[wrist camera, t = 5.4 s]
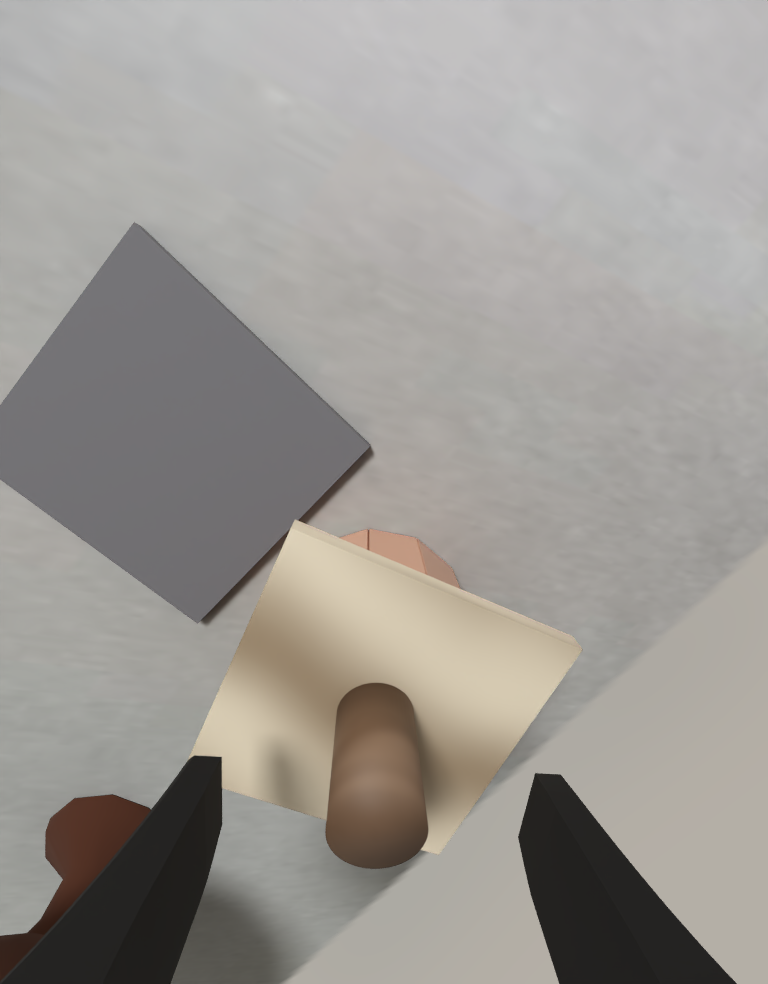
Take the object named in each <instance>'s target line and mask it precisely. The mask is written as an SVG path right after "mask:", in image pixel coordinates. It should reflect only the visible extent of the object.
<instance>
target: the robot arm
mask: <svg viewBox="0 0 768 984" xmlns="http://www.w3.org/2000/svg"><path fill="white" fill-rule="evenodd" d="M221 827H222V757H216V756H197V755H194V756H193V757H191V758H190V759H189V760H188V761H187V763H186V764H185V766H184V767H183V768H182V770H181V771H180V772H179V774H178V775H177V777H176V778H175V779H174V781H173V782H172V783H171V785H170V786H169V787H168V789H167V790H166V791H165V793H164V794H163V795H162V797H161V798H160V799H159V801H158V802H157V803H156V804H155V806H154V807H153V808H152V810H151V811H150V812H149V813H148V815H147V816H146V817H145V819H144V820H143V821H142V822H141V824H140V825H139V826H138V827H137V828H136V830H135V831H134V832H133V833H132V835H131V836H130V837H129V838H128V839H127V841H126V842H125V843H124V844H123V846H122V847H121V848H120V849H119V850H118V852H117V853H116V854H115V855H114V857H113V858H112V859H111V860H110V861H109V863H108V864H107V865H106V866H105V867H104V868H103V870H102V871H101V872H100V873H99V874H98V875H97V877H96V878H95V879H94V880H93V881H92V882H91V883H90V884H89V886H88V887H87V888H86V889H85V890H84V891H83V892H82V894H81V895H80V896H79V897H78V898H77V899H76V900H75V902H74V903H73V904H72V905H71V906H70V907H69V908H68V909H67V911H66V912H65V913H64V914H63V915H62V916H61V917H60V919H59V920H58V921H57V922H56V923H55V924H54V925H53V926H52V927H51V928H50V929H49V930H48V932H47V933H46V934H45V935H44V936H43V937H42V938H41V939H40V940H39V941H38V942H37V943H36V945H35V946H34V947H33V948H32V949H31V950H30V951H29V952H28V953H27V954H26V955H25V956H24V957H23V958H22V959H21V960H20V961H19V962H18V963H17V965H16V966H15V967H14V968H13V969H12V970H11V971H10V972H9V973H8V974H7V975H6V976H5V977H4V978H3V979H2V980H1V981H0V984H170V983H171V980H172V978H173V975H174V972H175V969H176V967H177V964H178V961H179V958H180V955H181V953H182V950H183V947H184V944H185V942H186V939H187V936H188V933H189V930H190V928H191V925H192V922H193V919H194V916H195V914H196V911H197V908H198V905H199V902H200V900H201V897H202V894H203V891H204V888H205V885H206V882H207V879H208V875H209V872H210V868H211V864H212V861H213V857H214V853H215V849H216V846H217V842H218V838H219V834H220V830H221ZM518 838H519V843H520V848H521V852H522V857H523V862H524V867H525V871H526V875H527V880H528V884H529V888H530V892H531V896H532V899H533V902H534V906H535V909H536V912H537V915H538V919H539V922H540V925H541V928H542V931H543V934H544V937H545V940H546V944H547V947H548V950H549V953H550V956H551V959H552V962H553V965H554V968H555V971H556V975H557V977H558V981H559V984H736V982H735V981H734V980H733V979H732V978H731V977H730V976H729V975H728V974H727V973H726V972H725V971H724V970H723V969H722V968H721V967H720V965H719V964H718V963H717V962H716V961H715V960H714V959H713V958H712V957H711V956H710V955H709V954H708V952H707V951H706V950H705V949H704V948H703V947H702V946H701V945H700V944H699V943H698V941H697V940H696V939H695V938H694V937H693V936H692V934H691V933H690V932H689V931H688V930H687V929H686V928H685V927H684V925H682V923H681V922H680V921H679V920H678V919H677V918H676V916H675V915H674V914H673V913H672V912H671V911H670V909H668V907H667V906H666V905H665V904H664V902H663V901H662V900H661V899H660V898H659V897H658V895H657V894H656V893H655V892H654V891H653V889H652V888H651V887H650V886H649V885H648V883H647V882H646V881H645V880H644V879H643V878H642V876H641V875H640V874H639V872H638V871H637V870H636V869H635V868H634V866H633V865H632V864H631V863H630V862H629V860H628V859H627V858H626V857H625V855H624V854H623V853H622V852H621V850H620V849H619V848H618V847H617V846H616V845H615V843H614V842H613V841H612V839H611V838H610V837H609V835H608V834H607V833H606V832H605V831H604V829H603V828H602V827H601V825H600V824H599V823H598V822H597V820H596V819H595V818H594V817H593V815H592V814H591V813H590V811H589V810H588V809H587V808H586V806H585V805H584V804H583V802H582V801H581V800H580V799H579V797H578V796H577V795H576V793H575V792H574V791H573V790H572V788H571V787H570V786H569V785H568V783H567V782H566V781H565V780H564V778H563V777H562V776H561V775H557V774H537V773H536V774H535V777H534V780H533V784H532V787H531V791H530V795H529V799H528V803H527V806H526V810H525V814H524V817H523V821H522V825H521V829H520V833H519V836H518Z"/></svg>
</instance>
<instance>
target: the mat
mask: <svg viewBox="0 0 768 984" xmlns="http://www.w3.org/2000/svg"><path fill="white" fill-rule="evenodd" d="M369 447H370V444H369V443H368V442H367V441H366V440H365V439H364V438H363V437H362V436H361V435H360V434H359V433H358V432H357V431H355V430H354V429H353V428H352V427H351V426H350V425H349V424H348V423H347V422H346V421H345V420H344V419H343V418H342V417H341V416H340V415H339V414H338V413H337V412H336V411H334V410H333V409H332V408H331V407H330V406H329V405H328V404H327V403H326V402H325V401H324V400H323V399H322V398H321V397H320V396H319V395H318V394H317V393H316V392H315V391H313V390H312V389H311V388H310V387H309V386H308V385H307V384H306V383H305V382H304V381H303V380H302V379H301V378H300V377H299V376H298V375H297V374H296V373H295V372H294V371H292V370H291V369H290V368H289V367H288V366H287V365H286V364H285V363H284V362H283V361H282V360H281V359H280V358H279V357H278V356H277V355H276V354H275V353H274V352H272V351H271V350H270V349H269V348H268V347H267V346H266V345H265V344H264V343H263V342H262V341H261V340H260V339H259V338H258V337H257V336H256V335H255V334H254V333H253V332H251V331H250V330H249V329H248V328H247V327H246V326H245V325H244V324H243V323H242V322H241V321H240V320H239V319H238V318H237V317H236V316H235V315H234V314H233V313H232V312H230V311H229V310H228V309H227V308H226V307H225V306H224V305H223V304H222V303H221V302H220V301H219V300H218V299H217V298H216V297H215V296H214V295H213V294H212V293H211V292H209V291H208V290H207V289H206V288H205V287H204V286H203V285H202V284H201V283H200V282H199V281H198V280H197V279H196V278H195V277H194V276H193V275H192V274H191V273H189V272H188V271H187V270H186V269H185V268H184V267H183V266H182V265H181V264H180V263H179V262H178V261H177V260H176V259H175V258H174V257H173V256H172V255H171V254H170V253H168V252H167V251H166V250H165V249H164V248H163V247H162V246H161V245H160V244H159V243H158V242H157V241H156V240H155V239H154V238H153V237H152V236H151V235H150V234H149V233H147V232H146V231H145V230H144V229H143V228H142V227H141V226H140V225H138V224H136V223H135V222H134V223H133V224H132V226H131V227H130V228H129V230H128V231H127V233H126V234H125V235H124V237H123V238H122V239H121V241H120V242H119V244H118V245H117V246H116V248H115V249H114V250H113V252H112V253H111V254H110V256H109V257H108V259H107V260H106V261H105V263H104V264H103V265H102V267H101V268H100V270H99V271H98V272H97V274H96V275H95V276H94V278H93V279H92V280H91V282H90V283H89V285H88V286H87V287H86V289H85V290H84V291H83V293H82V294H81V296H80V297H79V298H78V300H77V301H76V302H75V304H74V305H73V306H72V308H71V309H70V311H69V312H68V313H67V315H66V316H65V317H64V319H63V320H62V321H61V323H60V324H59V326H58V327H57V328H56V330H55V331H54V332H53V334H52V335H51V337H50V338H49V339H48V341H47V342H46V343H45V345H44V346H43V347H42V349H41V350H40V352H39V353H38V354H37V356H36V357H35V358H34V360H33V361H32V363H31V364H30V365H29V367H28V368H27V369H26V371H25V372H24V373H23V375H22V376H21V378H20V379H19V380H18V382H17V383H16V384H15V386H14V387H13V389H12V390H11V391H10V393H9V394H8V395H7V397H6V398H5V399H4V401H3V402H2V404H1V405H0V480H2V481H3V482H5V483H6V484H7V485H9V486H10V487H11V488H13V489H14V490H16V491H17V492H18V493H20V494H21V495H22V496H24V497H25V498H26V499H28V500H29V501H31V502H32V503H33V504H35V505H36V506H37V507H39V508H40V509H42V510H43V511H44V512H46V513H47V514H48V515H50V516H51V517H52V518H54V519H55V520H57V521H58V522H59V523H61V524H62V525H63V526H65V527H66V528H68V529H69V530H70V531H72V532H73V533H74V534H76V535H77V536H78V537H80V538H81V539H83V540H84V541H85V542H87V543H88V544H89V545H91V546H92V547H94V548H95V549H96V550H98V551H99V552H100V553H102V554H103V555H104V556H106V557H107V558H109V559H110V560H111V561H113V562H114V563H115V564H117V565H118V566H120V567H121V568H122V569H124V570H125V571H126V572H128V573H129V574H130V575H132V576H133V577H135V578H136V579H137V580H139V581H140V582H141V583H143V584H144V585H146V586H147V587H148V588H150V589H151V590H152V591H154V592H155V593H157V594H158V595H159V596H161V597H162V598H163V599H165V600H166V601H167V602H169V603H170V604H172V605H173V606H174V607H176V608H177V609H178V610H180V611H181V612H183V613H184V614H185V615H187V616H188V617H189V618H191V619H192V620H193V621H195V622H196V623H199V622H200V621H201V620H202V618H203V617H204V616H205V615H206V614H207V613H208V612H209V611H210V610H211V609H212V608H213V607H214V606H215V605H216V604H217V603H218V602H219V601H220V600H221V599H222V598H223V597H224V596H225V595H226V594H227V593H228V592H229V591H230V590H231V589H232V588H233V587H234V586H235V585H236V584H237V583H238V582H239V580H240V579H241V578H242V577H243V576H244V575H245V574H246V573H247V572H248V571H249V570H250V569H251V568H252V567H253V566H254V565H255V564H256V563H257V562H258V561H259V560H260V559H261V558H262V557H263V556H264V555H265V554H266V553H267V552H268V551H269V550H270V549H271V548H272V547H273V546H274V545H275V544H276V542H277V541H278V540H279V539H280V538H281V537H282V536H283V535H284V534H285V533H286V532H287V531H288V530H289V529H290V528H291V527H292V525H293V522H294V520H299V519H300V518H301V517H302V516H303V515H304V514H305V513H306V512H307V511H308V510H309V509H310V508H311V507H312V506H313V504H314V503H315V502H316V501H317V500H318V499H319V498H320V497H321V496H322V495H323V494H324V493H325V492H326V491H327V490H328V489H329V488H330V487H331V486H332V485H333V484H334V483H335V482H336V481H337V480H338V479H339V478H340V477H341V476H342V475H343V474H344V473H345V472H346V471H347V470H348V469H349V468H350V466H351V465H352V464H353V463H354V462H355V461H356V460H357V459H358V458H359V457H360V456H361V455H362V454H363V453H364V452H365V451H366V450H367V449H368V448H369Z"/></svg>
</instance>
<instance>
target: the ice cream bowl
mask: <svg viewBox="0 0 768 984" xmlns="http://www.w3.org/2000/svg"><path fill="white" fill-rule="evenodd" d="M150 811H151V810H150V809H149V808H147V807H145V806H142V805H139V804H136V803H134V802H131V801H128V800H126V799H123V798H120V797H117V796H115V795H104V796H94V797H84V798H74V799H73V800H72V801H71V802H69V803H68V804H67V805H66V806H65V807H63V808H62V809H61V810H60V811H59V812H57V813H56V814H55V815H54V816H52V817H51V818H50V821H49V824H48V827H47V829H46V844H45V857H46V859H47V860H48V861H49V862H50V864H51V865H52V866H53V867H54V869H55V870H56V871H57V872H58V874H59V875H60V876H61V877H62V879H63V881H62V882H61V884H60V886H59V888H58V889H57V891H56V893H55V895H54V897H53V898H52V900H51V902H50V904H49V905H48V907H47V909H46V911H45V913H44V914H43V916H42V918H41V920H40V921H39V922H38V923H37V924H36V925H35V926H34V927H33V928H32V929H31V930H30V931H29V932H28V933H24V934H14V935H4V936H0V981H1V980H2V979H3V978H4V977H5V976H6V975H7V974H8V973H9V972H10V971H11V970H12V969H13V968H14V967H15V966H16V965H17V963H18V962H19V961H20V960H21V959H22V958H23V957H24V956H25V955H26V954H27V953H28V952H29V951H30V950H31V949H32V948H33V947H34V946H35V945H36V943H37V942H38V941H39V940H40V939H41V938H42V937H43V936H44V935H45V934H46V933H47V932H48V930H49V929H50V928H51V927H52V926H53V925H54V924H55V923H56V922H57V921H58V920H59V919H60V917H61V916H62V915H63V914H64V913H65V912H66V911H67V909H68V908H69V907H70V906H71V905H72V904H73V903H74V902H75V900H76V899H77V898H78V897H79V896H80V895H81V894H82V892H83V891H84V890H85V889H86V888H87V887H88V886H89V884H90V883H91V882H92V881H93V880H94V879H95V878H96V877H97V875H98V874H99V873H100V872H101V871H102V870H103V868H104V867H105V866H106V865H107V864H108V863H109V861H110V860H111V859H112V858H113V857H114V855H115V854H116V853H117V852H118V850H119V849H120V848H121V847H122V846H123V844H124V843H125V842H126V841H127V839H128V838H129V837H130V836H131V835H132V833H133V832H134V831H135V830H136V828H137V827H138V826H139V825H140V824H141V822H142V821H143V820H144V819H145V817H146V816H147V815H148V813H149V812H150Z"/></svg>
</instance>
